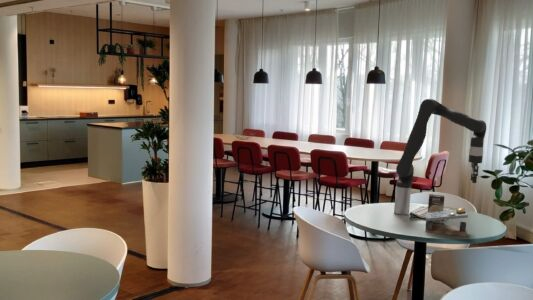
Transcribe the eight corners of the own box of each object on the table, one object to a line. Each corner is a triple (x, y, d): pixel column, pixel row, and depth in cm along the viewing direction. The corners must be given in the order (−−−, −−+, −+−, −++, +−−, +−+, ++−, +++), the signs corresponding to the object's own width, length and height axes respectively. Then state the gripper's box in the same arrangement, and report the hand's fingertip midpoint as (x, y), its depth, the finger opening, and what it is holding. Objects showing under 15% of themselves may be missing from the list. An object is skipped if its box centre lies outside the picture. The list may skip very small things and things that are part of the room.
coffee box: (426, 221, 328) (428, 195, 326) (426, 219, 334) (428, 193, 332) (442, 223, 325) (444, 197, 323) (442, 221, 331) (444, 195, 329)
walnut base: (425, 231, 305) (426, 221, 304) (425, 224, 321) (426, 215, 321) (467, 236, 299) (468, 226, 298) (465, 229, 315) (466, 219, 314)
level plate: (426, 221, 305) (425, 215, 305) (426, 214, 320) (425, 209, 320) (467, 217, 298) (467, 211, 298) (466, 211, 314) (465, 205, 313)
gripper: (467, 152, 325) (465, 179, 327) (470, 155, 312) (467, 183, 314) (481, 153, 324) (478, 180, 326) (484, 156, 310) (481, 184, 312)
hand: (473, 181), depth 320 cm, fingers open, 8 cm apart
